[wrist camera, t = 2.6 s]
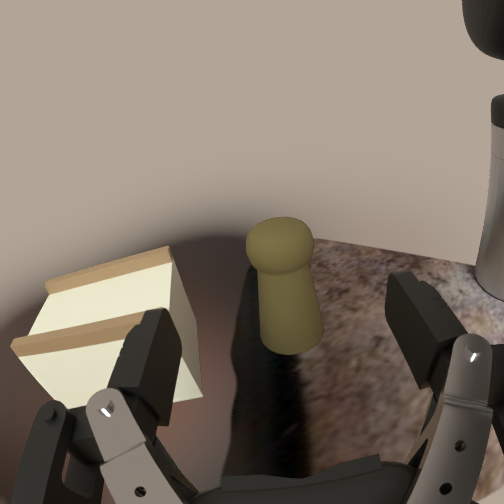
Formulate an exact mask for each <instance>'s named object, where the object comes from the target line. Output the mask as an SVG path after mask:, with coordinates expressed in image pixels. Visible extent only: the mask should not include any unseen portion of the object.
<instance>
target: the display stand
mask: <svg viewBox="0 0 504 504" xmlns="http://www.w3.org/2000/svg"><path fill="white" fill-rule="evenodd" d="M44 286H45V288H46V290H47V292H48V294H49V296H48V298H47V300H46V302H45V304H44V305H43V307H42V309H41V311H40V313H39V315H38V317H37V319H36V321H35V323H34V325H33V326H32V328H31V331H30V333H29V335H28V336H24V337H19V338H14V339H13V342H12V343H11V345H10V347H11V349H12V350H13V351H14V353H15V354H16V355H17V356H18V358H19V359H20V360H21V361H22V363H23V364H24V365H25V366H26V368H27V369H28V370H29V371H30V372H31V374H32V375H33V376H34V377H35V378H36V380H37V381H38V382H39V383H40V384H41V385H42V386H43V387H44V389H45V390H46V391H47V392H48V393H49V394H50V395H51V396H52V397H53V398H54V399H55V400H57V401H60V402H62V403H63V404H64V405H65V406H66V407H67V408H68V409H71V408H76V407H80V406H85V405H87V402H88V401H89V399H90V398H91V396H92V395H93V394H95V393H96V392H98V391H99V390H102V389H105V388H106V387H107V385H108V382H109V379H110V377H111V374H112V371H113V369H114V366H115V363H116V361H117V358H118V356H119V353H120V350H121V348H122V347H123V346H122V345H123V343H124V340H125V338H126V335H127V334H128V333H129V331H130V330H131V329H132V328H133V327H134V326H135V325H138V324H140V323H141V320H142V317H143V315H144V313H145V311H146V310H151V309H160V308H166V309H167V310H168V311H169V313H170V316H171V318H172V320H173V323H174V325H175V327H176V329H177V332H178V334H179V336H180V339H181V343H182V356H181V361H180V366H179V372H178V377H177V382H176V387H175V393H174V398H173V402H177V401H183V400H189V399H194V398H199V397H203V389H202V378H201V368H200V358H199V347H198V335H197V322H196V318H195V316H194V313H193V311H192V308H191V306H190V303H189V300H188V298H187V295H186V293H185V290H184V287H183V284H182V282H181V279H180V276H179V274H178V271H177V268H176V265H175V262H174V260H173V257H172V254H171V251H170V248H169V246H166V247H162V248H158V249H155V250H151V251H147V252H144V253H140V254H136V255H132V256H129V257H125V258H122V259H118V260H115V261H111V262H108V263H104V264H100V265H97V266H94V267H90V268H87V269H83V270H80V271H76V272H73V273H70V274H66V275H63V276H59V277H56V278H53V279H50V280H47V281H46V283H45V285H44Z"/></svg>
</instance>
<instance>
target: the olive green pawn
mask: <svg viewBox="0 0 504 504" xmlns="http://www.w3.org/2000/svg"><path fill="white" fill-rule="evenodd" d="M313 250H314V240H313V237H312V233H311V231H310V229H309V228H308V226H307V225H306V224H305V223H304V222H303V221H301V220H298V219H295V218H291V217H276V218H271V219H268V220H265V221H262V222H260V223H259V224H257V225H256V226H254V227H253V228H252V229H251V230H250V232H249V234H248V236H247V240H246V252H247V256H248V258H249V260H250V262H251V264H252V265H253V267H254V268H256V269H257V273H258V293H259V314H260V336H261V340H262V342H263V344H264V345H265V346H266V347H267V348H268V349H269V350H271V351H274V352H276V353H278V354H285V355H292V354H300V353H302V352H305V351H308V350H310V349H311V348H313V347H314V346H315V345H317V344H318V342H319V341H320V340H321V338H322V336H323V332H324V327H323V322H322V317H321V313H320V309H319V304H318V300H317V295H316V291H315V287H314V283H313V279H312V274H311V270H310V266H309V261H310V260H311V257H312V254H313Z"/></svg>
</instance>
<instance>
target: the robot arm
mask: <svg viewBox="0 0 504 504" xmlns="http://www.w3.org/2000/svg"><path fill="white" fill-rule="evenodd" d="M462 8H463V16H464V22H465V26H466V29H467V32H468V34H469V36H470V38H471V40H472V41H473V43H474V44H475V46H476V47H477V48H478V49H479V50H480V51H482V52H483V53H485V54H486V55H489V56H491V57H494V58H497V59H500V60H504V0H462ZM491 122H492V124H491V165H490V179H489V190H488V198H487V207H486V213H485V220H484V226H483V232H482V238H481V242H480V247H479V253H478V257H477V261H476V266H475V276H476V279H477V281H478V282H479V284H480V285H481V286H482V287H483V288H484V289H485V290H486V291H487V292H488V293H490V294H491V295H493V296H494V297H496V298H498V299H501V300H503V301H504V94H503V95H498V96H496V97H494V98H493V99H492V102H491ZM385 316H386V320H387V323H388V325H389V327H390V329H391V331H392V333H393V334H394V336H395V338H396V340H397V342H398V344H399V347H400V349H401V351H402V353H403V355H404V357H405V359H406V361H407V363H408V365H409V367H410V369H411V372H412V374H413V376H414V378H415V380H416V382H417V385H418V387H419V389H420V390H421V389H424V388H427V387H429V386H430V387H431V389H432V391H433V393H432V395H431V398H430V401H429V404H428V407H427V410H426V414H425V416H424V419H423V422H422V425H421V428H420V431H419V433H418V436H417V439H416V441H415V443H414V445H413V447H412V449H411V451H410V453H409V455H408V457H407V459H406V461H405V463H404V464H403V463H398V462H388V461H380V458H379V454H375V455H372V456H368V457H364V458H360V459H356V460H352V461H348V462H343V463H340V464H338V465H335V466H333V467H331V468H329V469H326V470H324V471H321V472H319V473H317V474H314V475H312V476H309V477H306V478H302V479H295V478H285V477H276V476H268V475H261V474H260V475H244V476H222V484H221V485H217V486H214V487H212V488H209V489H207V490H204V491H202V492H200V493H199V492H198V490H197V489H196V488H195V487H194V486H193V484H192V483H191V482H190V481H189V480H188V479H187V478H186V477H185V476H184V475H183V473H182V472H181V470H180V469H179V468H178V466H177V465H176V463H175V462H174V461H173V459H172V458H171V456H170V455H169V453H168V452H167V450H166V449H165V447H164V446H163V444H162V443H161V441H160V440H159V438H158V436H157V435H156V430H157V426H169V421H170V415H171V410H172V404H173V398H174V393H175V387H176V382H177V377H178V372H179V366H180V361H181V356H182V343H181V339H180V336H179V334H178V332H177V329H176V327H175V325H174V323H173V320H172V318H171V316H170V313H169V311H168V310H167V309H166V308H160V309H151V310H146V311H145V313H144V315H143V317H142V320H141V323H140V324H138V325H135V326H134V327H133V328H132V329H131V330H130V331H129V333H128V334H127V335H126V338H125V340H124V343H123V345H122V346H123V347H122V348H121V350H120V353H119V356H118V358H117V361H116V363H115V366H114V369H113V371H112V374H111V377H110V379H109V382H108V385H107V387H106V388H105V389H102V390H99V391H98V392H96V393H95V394H93V395H92V396H91V398H90V399H89V401H88V402H87V405H85V406H80V407H76V408H71V409H68V408H67V407H66V406H65V405H64V404H63V403H62V402H60V401H57V400H52V401H49V402H47V403H45V404H44V405H43V406H42V407H41V408H40V409H39V411H38V413H37V415H36V417H35V420H34V423H33V426H32V429H31V431H30V434H29V437H28V440H27V443H26V447H25V449H24V453H23V456H22V459H21V463H20V466H19V470H18V474H17V477H16V481H15V485H14V489H13V493H12V497H11V502H10V504H101V498H102V491H103V485H104V480H105V482H106V484H107V486H108V488H109V490H110V492H111V494H112V496H113V498H114V500H115V502H116V504H479V503H477V502H475V501H473V500H471V499H472V496H473V493H474V490H475V487H476V484H477V481H478V478H479V474H480V471H481V467H482V464H483V460H484V456H485V452H486V447H487V443H488V438H489V433H490V428H491V423H492V425H493V427H494V430H495V432H496V435H497V438H498V440H499V443H500V446H501V449H502V451H503V454H504V344H497V345H490V344H489V342H488V341H487V340H486V339H484V338H483V337H481V336H479V335H476V334H468V332H467V331H466V330H465V328H464V327H463V325H462V324H461V323H460V321H459V320H458V318H457V317H456V316H455V314H454V313H453V311H452V310H451V309H450V307H449V306H447V303H446V302H445V301H444V299H442V298H441V296H440V294H439V293H438V292H437V290H436V289H435V288H434V287H433V286H431V285H429V284H428V283H426V282H425V281H418V280H417V278H416V277H415V276H414V274H413V273H412V272H411V271H410V270H405V271H400V272H395V273H390V274H389V276H388V283H387V292H386V301H385ZM67 453H68V454H69V455H71V456H70V460H69V464H68V468H67V473H66V477H65V482H64V484H63V482H62V477H61V476H62V470H63V466H64V462H65V458H66V454H67Z"/></svg>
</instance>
